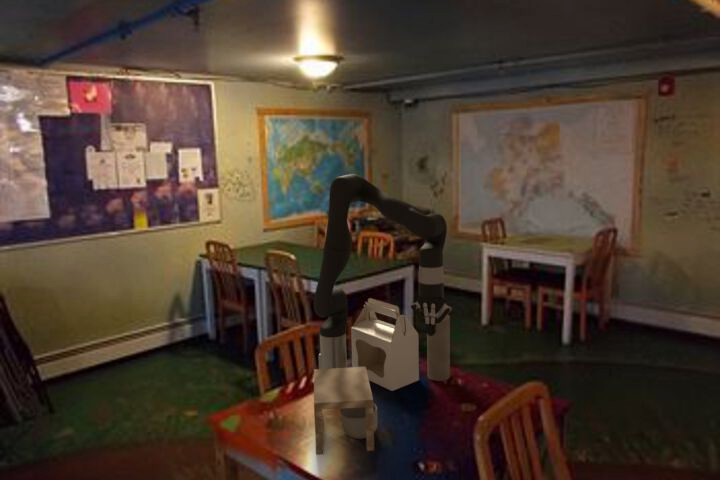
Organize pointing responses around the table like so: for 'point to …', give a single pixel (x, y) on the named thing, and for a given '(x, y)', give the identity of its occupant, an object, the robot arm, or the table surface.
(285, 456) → the table surface
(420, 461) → the table surface
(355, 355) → the gable box
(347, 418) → the teacup
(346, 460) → the table surface
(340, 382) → the miniature side table
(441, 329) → the thermos bottle
